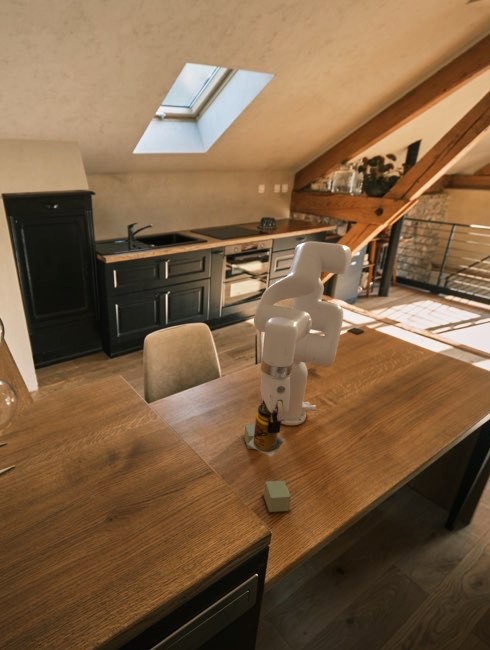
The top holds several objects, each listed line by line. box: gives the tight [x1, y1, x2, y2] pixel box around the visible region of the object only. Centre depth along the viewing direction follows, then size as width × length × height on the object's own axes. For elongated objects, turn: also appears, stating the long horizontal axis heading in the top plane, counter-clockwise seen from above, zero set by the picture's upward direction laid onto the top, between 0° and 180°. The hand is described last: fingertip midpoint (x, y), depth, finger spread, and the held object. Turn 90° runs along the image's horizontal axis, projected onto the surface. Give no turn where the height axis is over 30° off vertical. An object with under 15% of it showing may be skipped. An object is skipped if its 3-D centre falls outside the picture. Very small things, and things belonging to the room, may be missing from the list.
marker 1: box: [243, 424, 256, 450], centre depth 118 cm, size 5×5×5 cm
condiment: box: [248, 403, 286, 458], centre depth 103 cm, size 7×8×12 cm
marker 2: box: [263, 480, 292, 513], centre depth 98 cm, size 5×5×5 cm
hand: (269, 423), depth 102 cm, fingers closed on condiment, 6 cm apart
